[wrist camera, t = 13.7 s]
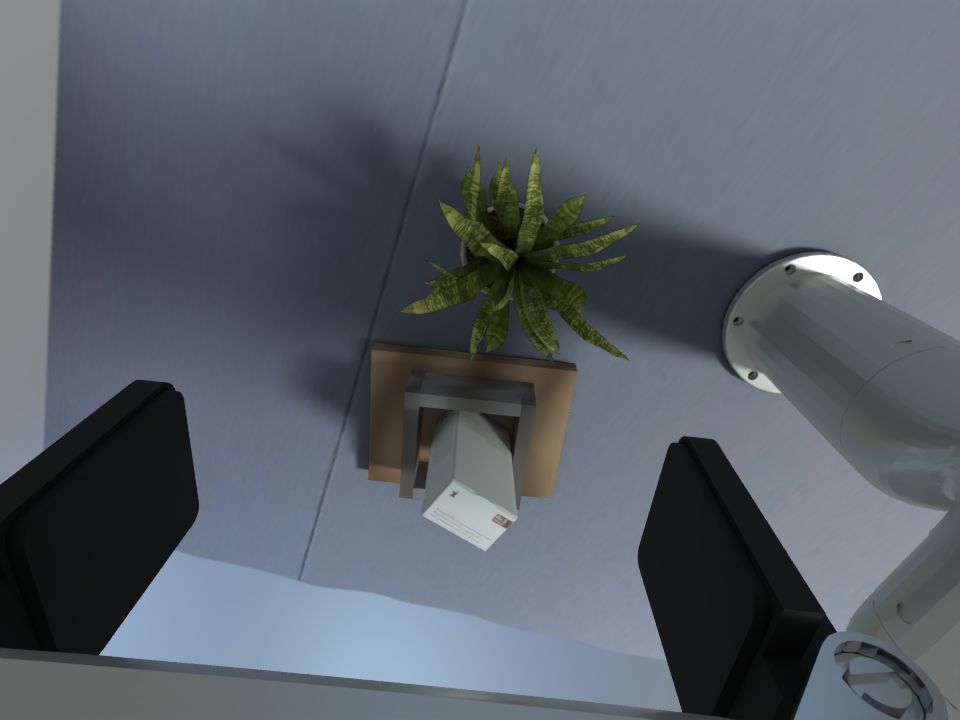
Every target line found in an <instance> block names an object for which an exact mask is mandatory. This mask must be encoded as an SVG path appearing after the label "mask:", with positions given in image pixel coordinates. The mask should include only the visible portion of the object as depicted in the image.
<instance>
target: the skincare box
mask: <svg viewBox="0 0 960 720" xmlns="http://www.w3.org/2000/svg"><path fill="white" fill-rule="evenodd" d="M422 516H424V517H425V518H427V519H429V520H431V521H433V522H435V523H436V524H438V525H440V526H442V527H444V528H445V529H447V530H449V531H451V532H452V533H454V534H456V535H458V536H460V537H461V538H463V539H465V540H466V541H468V542H470V543H472V544H474V545H475V546H477V547H479V548H481V549H482V550H484V551H486V550H487V549H488V548H489V547H490V546H491V545H492V544H493V543H494V542H495V541H496V539H497V538H498V537H499V536H500V535H501V534H502V533H503V532H504V531H505V530H506V529H507V528H508V527H509V526H510V525H511V524H512V523H513V522H514V521H515V520H516V519H517V509H516V499H515V489H514V478H513V467H512V456H511V446H510V434H509V431H508V430H506V429H505V428H503V427H501V426H500V425H498V424H497V423H495V422H494V421H492V420H491V419H489V418H488V417H486V416H485V415H483V414H482V413H477V412H468V411H458V410H448V411H447V413H446V414H445V415H444V416H443V417H442V419H441V420H440V421H439V422H438V423H437V425H436V426H435V427H434V430H433V438H432V444H431V451H430V458H429V465H428V472H427V479H426V486H425V493H424V500H423V506H422Z"/></svg>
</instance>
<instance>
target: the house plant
mask: <svg viewBox="0 0 960 720" xmlns="http://www.w3.org/2000/svg"><path fill="white" fill-rule="evenodd" d="M537 147H538V146H537ZM540 176H541V169H540V161H539V157H538V153H537V148H536V150H535V152H534V156H533V160H532V165H531V168H530V172H529V180H528V186H527V192H526V202H525V204H522V203H519V201H518V195H517V191H516V189H515V187H514V185H513V183H512V182H511V181H510V179H509V165H508V162H507V158H506V160H505V163H504V167H503V169H502V168H501V165H500V163H499V164H498V169H497V170H496V172H495V174H494V176H493V177H492V179H491V182H490V198H491V202H492V205H493V206H491V207H489V208H487V204H486V199H485V194H484V190H483V187H482V185H481V184H480V150H479V145H478V150H477V153H476V156H475V160H474V168H473V174H472V173H471V171H470V170H469V167H468V169H467V172H466V175H465V177H464V179H463V181H462V186H461V193H462V199H463V201H464V204H465V216H466V218H464V217H463V216H462V215H461V214H460V213H459V212H458V211H456V210H455V209H454V208H452V207H450V206H447V205H445V204H443V203H441V201H440V199H439V202H440V206H441V209H442V211H443V213H444V215H445V217H446V219H447V221H448V223H449V225H450V226H451V228H452V229H453V230H454V232H455V233H456V235H457V236H458V237H459V238H460V239H461V240H462V242H461V261H462V265H463V266H462V267H459V268H456V269H453V270H450V271H448V272H447V271H446V270H444V269H443V268H441V267H439V266H438V265H436V264H434V263H432V262H429V261H427V260H426V261H427V262H428V263H429V264H430V265H432V266H433V267H435V268H436V269H437V270H439V271H440V272H441V273H443V274H442V275H440V276H439V277H437V278H436V279H434V280H432V281H429V282H425V283H426V284H428V285H429V286H431V287H432V288H433V289H435V290H434V291H433V292H432V293H431V294H430V295H429V296H427V297H426V298H424V299H421V300H419V301H416V302H414V303H411V304H410V305H409V306H407V307H406V308H405V309H404V310H402V311H397V312H400V313H404V314H424V313H429V312H435V311H439V310H442V309H445V308H448V307H451V306H454V305H456V304H460V303H464V302H466V301H469V300H471V299H473V298H474V297H475V296H476V295H477V294H478V292H479V291H481V292H483V293H485V294H486V298H485V300H484V302H483V305H482V307H481V308H480V310H479V312H478V314H477V317H476V319H475V322H474V326H473V330H472V336H471V343H470V362H471V360H472V358H473V357H474V355H475V353H476V349H477V346H478V344H479V343H480V341H481V340H482V338H483V336H484V333H485V330H486V327H487V323H488V321H489V319H490V321H489V324H488V328H487V332H486V345H487V347H486V352H489V351H492V350H495V349H498V348H499V347H500V346H501V345H502V344H503V343H504V341H505V338H506V336H507V331H508V318H509V305H510V300H513V301H514V305H515V308H516V311H517V314H518V316H519V319H520V322H521V326H522V328H523V330H524V332H525V334H526V335H527V337H528V338H529V340H530V341H531V342H532V344H533V345H534V346H535V347H536V348H537V350H538V351H539V352H540V353H541V354H543V355H544V356H545V357H547V358H548V359H549V360H550V361H552V362H553V363H555V362H554V361H553V358H552V355H551V353H550V351H549V350H548V348H549V349H550V350H552V351H554V352H556V353H557V354H559V355H561V354H560V352H559V351H558V349H557V347H556V346H555V345H554V344H553V343H552V342H551V340H550V338H549V335H550V337H551V339H552V341H553V342H554V343H555V344H556V345H557V346H558V348H559V344H558V341H557V337H556V334H555V331H554V328H553V325H552V322H551V319H550V317H549V314H548V311H547V309H546V308H548V309H552V310H556V311H557V313H558V314H559V315H560V316H561V317H562V318H563V319H564V320H565V321H566V322H567V323H568V324H569V326H570V327H571V328H572V329H573V330H574V331H575V332H576V333H577V334H579V335H580V336H581V337H582V338H583V339H584V340H586V341H588V342H590V343H592V344H593V345H596V346H598V347H600V348H602V349H604V350H606V351H607V352H609V353H611V354H613V355H614V356H616V357H620V358H624V359H627V360H629V359H628V358H627V357H626V356H625V355H624V354H622V353H621V352H620V351H619V350H618V349H617V348H616V347H615V346H613V345H612V344H611V343H609V342H608V341H607V340H606V339H605V338H604V337H603V336H601V335H600V334H599V333H598V332H597V331H596V330H594V329H593V328H592V327H591V326H590V325H589V324H588V323H587V322H586V321H585V320H584V319H583V318H582V317H581V316H580V315H579V314H581V313H583V311H584V305H585V300H586V296H585V293H584V291H583V289H582V288H581V287H580V286H578V285H576V284H575V283H572V282H570V281H567V280H565V279H562V278H560V277H558V276H557V275H555V274H554V273H555V271H556V269H566V270H576V271H596V270H599V269H602V268H604V267H606V266H609V265H611V264H614V263H616V262H619V261H620V260H622V259H623V258H624V257H626V256H629V255H626V256H621V257H618V258H613V259H609V260H604V261H598V262H592V263H569V262H564V263H559V259H568V258H577V257H583V256H587V255H592V254H595V253H597V252H598V251H600V250H602V249H604V248H605V247H607V246H608V245H610V244H611V243H613V242H614V241H616V240H618V239H620V238H622V237H624V236H626V235H627V234H629V233H630V232H631V231H632V230H633V229H634V228H635V227H636V226H637V225H639V224H636V225H632V226H629V227H627V228H624V229H621V230H618V231H615V232H612V233H610V234H607V235H604V236H601V237H597V238H594V239H591V240H588V241H584V242H580V243H576V244H569V245H559V240H561V239H564V238H568V237H573V236H578V235H583V234H586V233H588V232H590V231H592V230H593V229H595V228H596V227H598V226H601V225H603V224H605V223H607V222H608V221H609V220H610V219H611V218H612V217H614V216H609V217H605V218H601V219H596V220H593V221H587V222H583V223H578V224H573V223H574V222H575V221H576V220H577V219H578V218H579V216H580V214H581V210H582V206H583V201H584V197H585V195H584V196H582V197H576V198H570V199H569V200H567V201H565V202H564V203H563V204H562V205H560V206H559V207H558V209H557V210H556V211H555V212H554V214H553V215H552V216H551V218H550V219H549V220H548V219H547V217H546V216H545V215H544V214H543V212H544V203H543V197H542V191H541V185H540ZM572 224H573V225H572ZM641 224H642V223H641ZM530 296H531V297H530ZM531 298H532V300H531ZM532 301H533V303H534V306H535V309H536V312H537V315H538V317H539V319H538V317H537V315H536V312H535V309H534V306H533V303H532ZM491 314H492V315H491ZM490 316H491V318H490ZM539 320H540V321H539ZM540 322H541V323H542V324H541V323H540ZM542 325H543V326H544V327H543V326H542ZM545 329H546V330H547V331H546V330H545ZM547 332H548V333H549V335H548V333H547ZM546 346H547V347H548V348H547V347H546ZM561 356H562V355H561ZM555 364H556V363H555Z"/></svg>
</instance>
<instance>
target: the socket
mask: <svg viewBox="0 0 960 720" xmlns="http://www.w3.org/2000/svg"><path fill="white" fill-rule="evenodd" d="M555 363H556V364H555ZM555 363H553V362H552V361H543V360H533V359H524V358H515V357H505V356H496V355H486V354H477V353H475V355H474V357H473V358H472V360H471V362H470V353H468V352H458V351H449V350H440V349H430V348H421V347H411V346H402V345H393V344H383V343H374V345H373V347H372V349H371V384H370V431H369V479H368V480H374V481H384V482H393V483H400V495H399V497H401V498H411V499H420V500H424V493H425V486H426V479H427V472H428V465H429V458H430V451H431V444H432V438H433V430H434V427H435V426H436V425H437V423H438V422H439V421H440V420H441V419H442V417H443V416H444V415H445V414H446V413H447V411H448V410H458V411H468V412H477V413H482V414H483V415H485V416H486V417H488V418H489V419H491V420H492V421H494V422H495V423H497V424H498V425H500V426H501V427H503V428H505V429H506V430H508V431H509V434H510V446H511V456H512V467H513V478H514V489H515V499H516V509H519V506H520V501H521V496H530V497H540V498H550V499H552V496H553V491H554V486H555V481H556V476H557V471H558V466H559V461H560V456H561V451H562V446H563V441H564V436H565V431H566V426H567V421H568V416H569V411H570V406H571V401H572V396H573V391H574V386H575V381H576V376H577V368H576V365H575V364H571V363H562V362H555Z"/></svg>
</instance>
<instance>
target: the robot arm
mask: <svg viewBox="0 0 960 720" xmlns="http://www.w3.org/2000/svg"><path fill="white" fill-rule="evenodd" d="M787 266H788V267H787ZM786 267H787V269H785V268H786ZM736 317H737V318H736ZM735 318H736V319H735ZM734 319H735V320H734ZM722 343H723V349H724V352H725V355H726V358H727V360H728V361H729V363H730V365H731V367H732V368H733V369H734V370H735V371H736V373H737V374H738V375H739V376H740V377H741V378H742V379H743V380H744V381H745V382H747V383H748V384H750V385H752V386H754V387H756V388H758V389H760V390H763V391H767V392H770V393H777V394H783V395H784V396H785V397H786V398H787V399H788V400H789V401H790V402H791V403H792V404H793V405H794V406H795V407H796V408H797V409H798V410H799V412H800V413H801V414H802V415H803V416H804V417H805V418H806V419H807V420H808V421H809V422H810V423H811V424H812V425H813V426H814V427H815V428H816V429H817V430H818V431H819V432H820V433H821V434H822V435H823V436H824V438H825V439H826V440H827V441H828V442H829V443H830V444H831V445H832V446H833V447H834V448H835V449H836V450H837V451H838V452H839V453H840V454H841V455H842V456H843V457H844V458H845V459H846V460H847V461H848V462H849V464H850V465H852V466H853V467H854V468H855V469H856V470H857V471H858V472H859V473H860V475H861V476H862V477H864V478H865V479H866V480H867V481H868V482H869V483H870V484H871V485H873V486H874V487H875V488H877V489H878V490H880V491H882V492H883V493H885V494H887V495H888V496H890V497H893V498H895V499H897V500H900V501H902V502H905V503H907V504H910V505H914V506H918V507H922V508H926V509H931V510H936V511H943V512H948V513H947V514H946V515H945V516H944V517H943V518H942V519H941V521H940V522H939V523H938V524H937V525H936V526H935V527H934V528H933V529H932V530H931V531H930V533H929V536H928V537H927V538H926V539H925V540H924V541H923V542H922V543H921V544H920V545H919V546H918V547H917V548H916V549H915V550H914V551H913V552H912V553H911V554H910V555H909V556H908V557H907V558H906V559H905V560H904V561H903V562H902V563H901V564H900V565H899V566H898V567H897V568H896V569H895V570H894V571H893V572H892V573H891V574H890V575H889V576H888V577H887V578H886V579H885V580H884V581H883V582H882V583H881V584H880V585H879V586H878V587H877V588H876V589H875V591H874V592H873V593H872V594H871V595H870V596H869V597H868V598H867V599H866V600H865V601H864V602H863V604H862V605H861V606H860V607H859V608H858V610H857V611H856V612H855V613H854V615H853V617H852V618H851V620H850V622H849V624H848V626H847V629H846V632H837V631H836V630H835V628H834V627H833V625H832V624H831V622H830V620H829V619H828V617H827V616H826V613H825V612H824V610H823V609H822V607H821V606H820V604H819V602H818V601H817V599H816V598H815V596H814V595H813V593H812V591H811V590H810V588H809V587H808V585H807V584H806V582H805V580H804V579H803V577H802V576H801V574H800V572H799V571H798V569H797V568H796V566H795V565H794V563H793V561H792V560H791V558H790V557H789V555H788V554H787V552H786V550H785V549H784V547H783V546H782V544H781V543H780V541H779V539H778V538H777V536H776V535H775V533H774V532H773V530H772V528H771V527H770V525H769V524H768V522H767V521H766V519H765V517H764V516H763V514H762V513H761V511H760V510H759V508H758V506H757V505H756V503H755V502H754V500H753V499H752V497H751V495H750V494H749V492H748V491H747V489H746V488H745V486H744V484H743V483H742V481H741V480H740V478H739V476H738V475H737V473H736V472H735V470H734V469H733V467H732V465H731V464H730V462H729V461H728V459H727V458H726V456H725V454H724V453H723V451H722V450H721V448H720V447H719V445H718V443H717V442H716V441H715V440H713V439H706V438H696V437H687V436H683V437H682V438H681V439H680V440H679V442H678V443H671V444H670V446H669V448H668V451H667V454H666V457H665V461H664V464H663V468H662V471H661V474H660V478H659V481H658V484H657V488H656V491H655V495H654V498H653V501H652V505H651V508H650V511H649V515H648V518H647V522H646V525H645V528H644V532H643V535H642V538H641V542H640V545H639V549H638V565H639V569H640V572H641V576H642V579H643V582H644V586H645V589H646V592H647V596H648V599H649V602H650V606H651V609H652V612H653V616H654V619H655V622H656V626H657V629H658V632H659V636H660V639H661V642H662V646H663V649H664V652H665V656H666V659H667V662H668V666H669V669H670V672H671V676H672V679H673V682H674V686H675V689H676V692H677V696H678V699H679V702H680V706H681V709H682V712H683V713H681V712H673V711H664V710H655V709H647V708H639V707H631V706H622V705H612V704H604V703H594V702H584V701H573V700H564V699H553V698H544V697H534V696H525V695H515V694H505V693H495V692H485V691H475V690H465V689H455V688H445V687H435V686H424V685H414V684H403V683H393V682H383V681H372V680H362V679H352V678H340V677H330V676H320V675H309V674H299V673H298V674H297V673H287V672H277V671H267V670H256V669H245V668H234V667H223V666H211V665H200V664H189V663H177V662H166V661H156V660H144V659H133V658H122V657H111V656H100V655H99V654H100V653H101V651H102V650H103V649H104V647H105V646H106V645H107V643H108V642H109V641H110V639H111V638H112V636H113V635H114V634H115V632H116V631H117V629H118V628H119V627H120V625H121V624H122V622H123V621H124V619H125V618H126V617H127V615H128V614H129V613H130V611H131V610H132V608H133V607H134V606H135V604H136V603H137V601H138V600H139V599H140V597H141V596H142V595H143V593H144V592H145V590H146V589H147V587H148V586H149V585H150V583H151V582H152V581H153V579H154V578H155V576H156V575H157V574H158V572H159V571H160V569H161V568H162V567H163V565H164V564H165V562H166V561H167V559H168V558H169V557H170V555H171V554H172V553H173V551H174V550H175V548H176V547H177V546H178V544H179V543H180V542H181V540H182V539H183V537H184V536H185V535H186V533H187V532H188V530H189V529H190V528H191V526H192V525H193V523H194V522H195V520H196V517H197V514H198V510H199V500H198V493H197V486H196V480H195V473H194V466H193V459H192V452H191V445H190V438H189V431H188V424H187V417H186V410H185V404H184V398H183V395H182V394H181V393H180V392H179V391H175V388H174V387H173V385H172V384H170V383H166V382H156V381H146V380H136V381H134V382H132V383H131V384H130V385H128V386H127V387H126V388H124V389H123V390H122V391H120V392H119V393H118V394H117V395H115V396H114V397H113V398H111V399H110V400H109V401H108V402H106V403H105V404H104V405H102V406H101V407H100V408H99V409H97V410H96V411H95V412H93V413H92V414H91V415H90V416H88V417H87V418H86V419H84V420H83V421H82V422H81V423H79V424H78V425H77V426H75V427H74V428H73V429H71V430H70V431H69V432H68V433H66V434H65V435H64V436H62V437H61V438H60V439H59V440H57V441H56V442H55V443H53V444H52V445H51V446H50V447H48V448H47V449H46V450H44V451H43V452H42V453H41V454H39V455H38V456H37V457H35V458H34V459H33V460H32V461H30V462H29V463H28V464H26V465H25V466H24V467H23V468H22V469H20V470H19V471H17V472H16V473H15V474H14V475H12V476H11V477H10V478H8V479H7V480H6V481H5V482H3V483H2V484H1V485H0V720H960V341H958V340H956V339H954V338H953V337H951V336H949V335H947V334H945V333H943V332H941V331H939V330H937V329H935V328H934V327H932V326H930V325H928V324H926V323H924V322H922V321H920V320H918V319H916V318H915V317H913V316H911V315H909V314H907V313H905V312H903V311H901V310H899V309H897V308H896V307H894V306H892V305H890V304H888V303H886V302H884V301H882V297H881V292H880V290H879V288H878V285H877V283H876V281H875V280H874V278H873V277H872V276H871V274H870V273H869V272H868V271H867V270H866V269H865V268H863V267H862V266H861V265H859V264H858V263H856V262H854V261H852V260H850V259H848V258H846V257H843V256H840V255H837V254H834V253H828V252H819V251H816V252H803V253H799V254H795V255H791V256H787V257H784V258H782V259H780V260H778V261H775V262H773V263H771V264H769V265H768V266H766V267H765V268H763V269H762V270H760V271H758V272H757V273H756V274H755V275H754V276H753V277H751V278H750V279H749V280H748V281H747V282H746V283H745V284H744V285H743V286H742V288H741V289H740V290H739V291H738V292H737V294H736V295H735V297H734V299H733V300H732V302H731V304H730V306H729V308H728V310H727V313H726V316H725V318H724V323H723V329H722Z"/></svg>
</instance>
